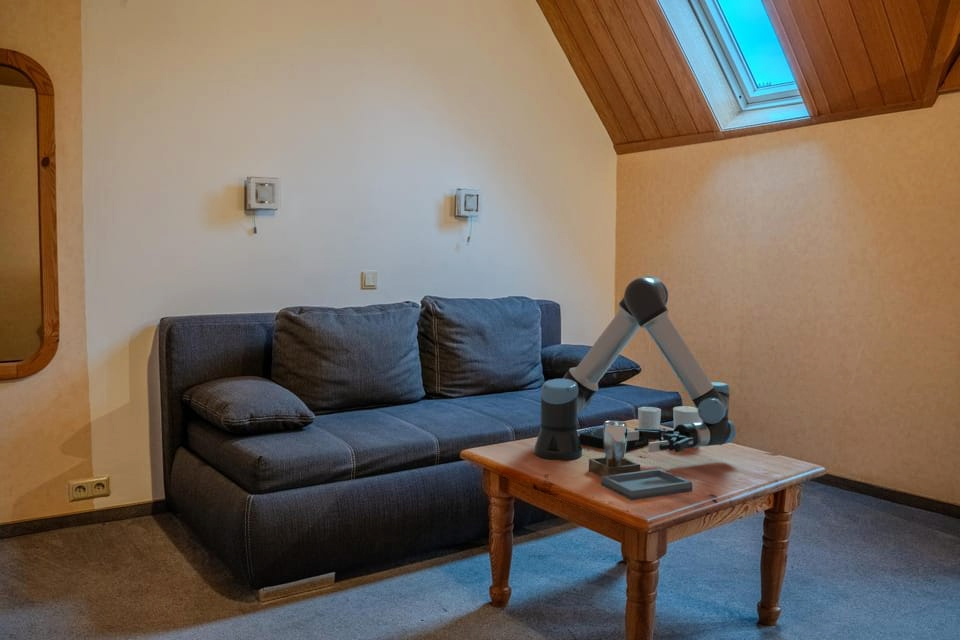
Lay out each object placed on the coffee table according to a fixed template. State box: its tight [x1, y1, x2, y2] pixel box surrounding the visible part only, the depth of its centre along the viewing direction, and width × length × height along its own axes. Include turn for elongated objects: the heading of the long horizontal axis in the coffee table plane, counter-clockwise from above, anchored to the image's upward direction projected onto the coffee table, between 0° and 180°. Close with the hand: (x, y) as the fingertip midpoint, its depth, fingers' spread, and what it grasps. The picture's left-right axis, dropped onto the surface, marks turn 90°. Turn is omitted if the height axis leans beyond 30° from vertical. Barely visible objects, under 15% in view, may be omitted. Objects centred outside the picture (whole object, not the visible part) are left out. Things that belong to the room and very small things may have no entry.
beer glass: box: [603, 420, 628, 467], centre depth 217 cm, size 7×7×15 cm
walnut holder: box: [588, 456, 641, 477], centre depth 218 cm, size 11×11×4 cm
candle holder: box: [672, 405, 703, 430], centre depth 254 cm, size 10×10×12 cm
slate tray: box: [600, 468, 693, 501], centre depth 204 cm, size 14×20×2 cm
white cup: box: [637, 406, 662, 429], centre depth 263 cm, size 8×8×10 cm
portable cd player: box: [578, 427, 649, 453], centre depth 252 cm, size 16×17×4 cm
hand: (634, 442), depth 219 cm, fingers open, 13 cm apart
